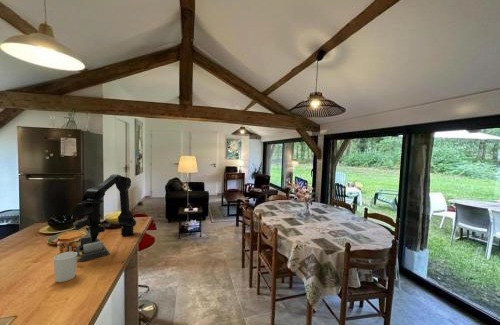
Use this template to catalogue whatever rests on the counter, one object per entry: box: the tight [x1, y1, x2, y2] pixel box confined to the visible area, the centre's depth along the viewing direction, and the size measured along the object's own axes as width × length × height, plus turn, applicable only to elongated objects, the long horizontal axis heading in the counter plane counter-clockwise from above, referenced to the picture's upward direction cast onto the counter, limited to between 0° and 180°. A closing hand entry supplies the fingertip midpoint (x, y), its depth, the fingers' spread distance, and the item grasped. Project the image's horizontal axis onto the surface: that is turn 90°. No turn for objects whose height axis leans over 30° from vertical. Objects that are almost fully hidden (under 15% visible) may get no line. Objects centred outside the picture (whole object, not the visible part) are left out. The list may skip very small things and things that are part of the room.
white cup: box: [53, 251, 78, 283], centre depth 96 cm, size 8×8×10 cm
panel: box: [83, 240, 104, 255], centre depth 117 cm, size 8×2×6 cm, turn 136°
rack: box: [76, 235, 111, 263], centre depth 122 cm, size 14×21×6 cm, turn 46°
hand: (93, 241), depth 117 cm, fingers closed
